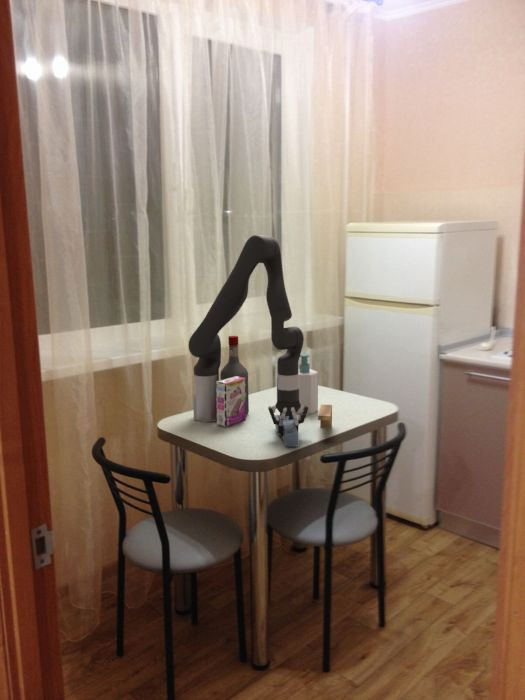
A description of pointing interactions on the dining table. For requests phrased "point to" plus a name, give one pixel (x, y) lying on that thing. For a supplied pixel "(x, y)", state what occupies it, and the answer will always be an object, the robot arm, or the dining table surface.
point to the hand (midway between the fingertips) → (288, 435)
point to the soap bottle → (307, 386)
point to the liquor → (235, 366)
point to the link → (288, 431)
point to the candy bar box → (231, 401)
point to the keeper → (325, 416)
